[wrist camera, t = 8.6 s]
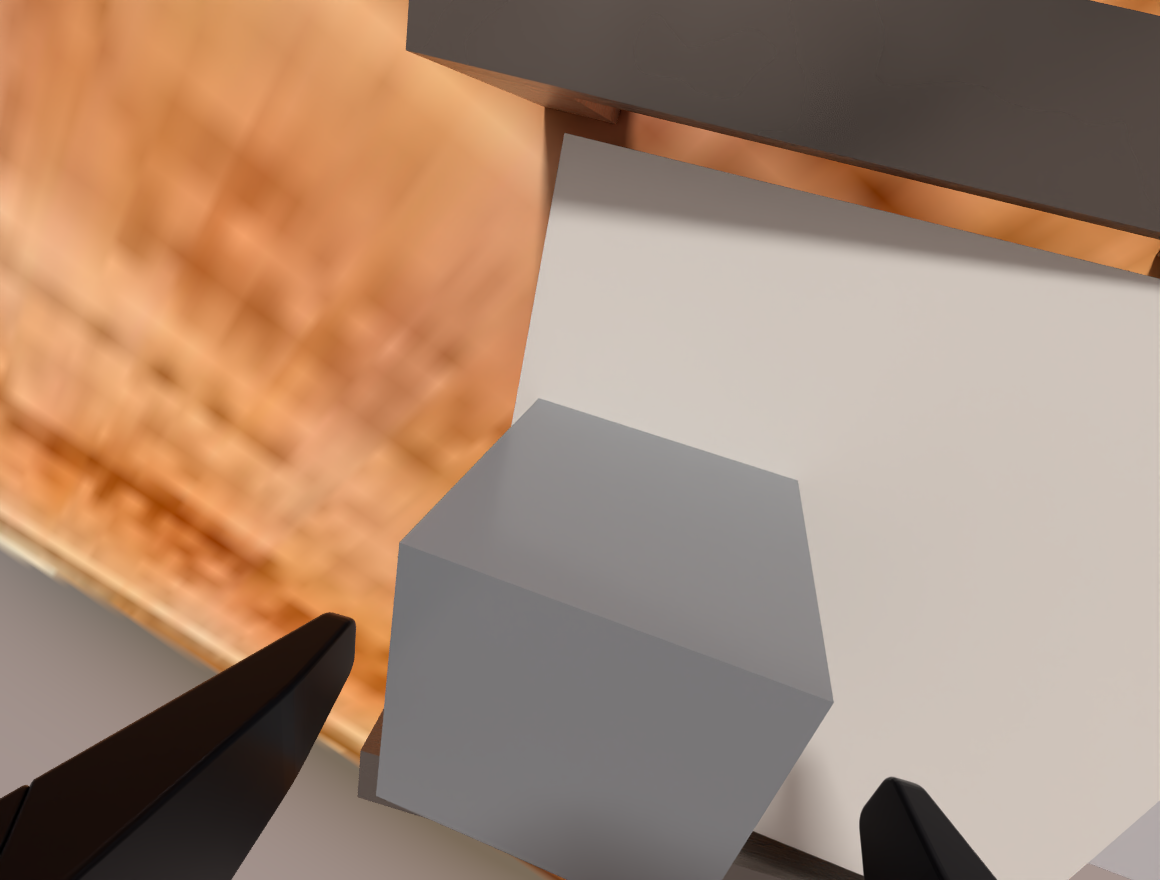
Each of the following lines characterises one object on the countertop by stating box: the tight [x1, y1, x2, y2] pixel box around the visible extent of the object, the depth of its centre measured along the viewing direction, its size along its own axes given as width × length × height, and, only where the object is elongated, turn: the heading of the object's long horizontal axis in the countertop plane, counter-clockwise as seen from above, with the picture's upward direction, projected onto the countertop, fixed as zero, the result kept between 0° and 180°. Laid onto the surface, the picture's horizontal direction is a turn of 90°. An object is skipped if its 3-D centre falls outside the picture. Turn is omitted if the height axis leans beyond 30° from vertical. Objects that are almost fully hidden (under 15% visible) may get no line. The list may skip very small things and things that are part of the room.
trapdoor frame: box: [358, 0, 1160, 880], centre depth 14 cm, size 18×19×8 cm
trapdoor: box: [512, 133, 1160, 880], centre depth 13 cm, size 18×14×5 cm
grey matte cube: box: [376, 398, 834, 880], centre depth 10 cm, size 5×5×5 cm
